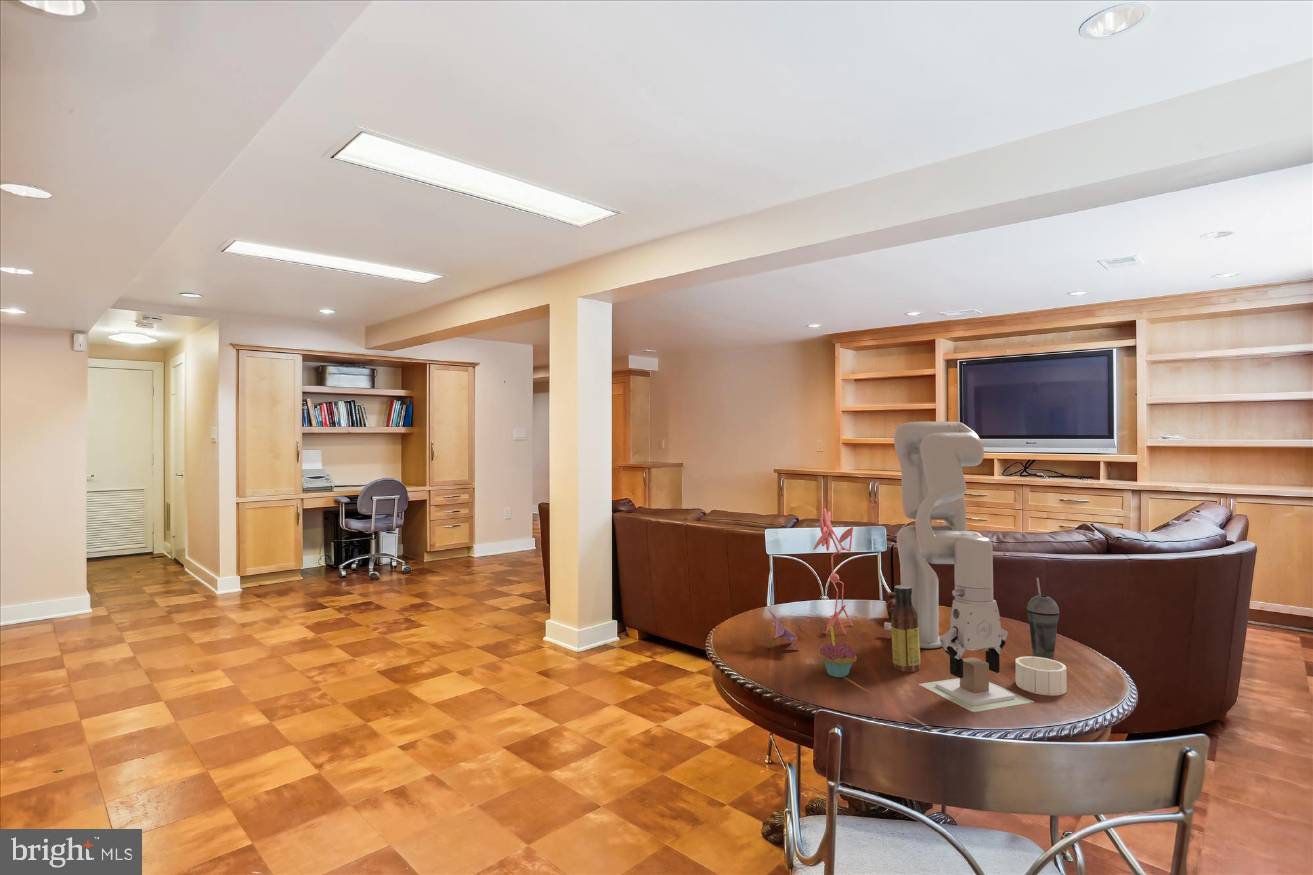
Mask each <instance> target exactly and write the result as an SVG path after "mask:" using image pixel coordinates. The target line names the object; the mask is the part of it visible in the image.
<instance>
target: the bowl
mask: <svg viewBox="0 0 1313 875" xmlns="http://www.w3.org/2000/svg"><path fill="white" fill-rule="evenodd" d="M1067 670H1068V669H1067V666H1066V665H1065V664H1064V663H1062V662H1060V661H1058V660H1055V659H1053V660H1051V659H1047V658H1041V657H1034V656H1033V655H1030V656H1028V655H1026V656H1019V657H1016V658H1015V685H1016V686H1017V687H1018V688H1020V689H1021V690H1023V691H1027V692H1028V693H1032V694H1036V695H1037V694H1038V695H1042V696H1054V697H1055V696H1062V695H1064V694H1066V693H1067V691H1068V687H1067V683H1068V682H1067V678H1068V677H1067Z"/></svg>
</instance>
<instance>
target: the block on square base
mask: <svg viewBox="0 0 1313 875" xmlns="http://www.w3.org/2000/svg"><path fill="white" fill-rule="evenodd" d="M962 659H963V678H960V679H959V680H952V681H946V682H939V683H935V687H937V688H939V689H941V690H943V691H945V692H947V693H949V694H951V695H953V696H955V697H957V698H959V699H961V700H963V701H965V702H967V703H969V704H971V705H973V706H975V705H981V704H987V703H993V702H999V701H1005V700H1011V699H1015V695H1014V694H1012V693H1009V692H1007V691H1005V690H1003V689H1000V688H998V687H996V686H994V685H991V684H989V682H990V670H989V663H987V662H986V660H982V659H979V658H977V657H973V656H972V657H967V658H962Z"/></svg>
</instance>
